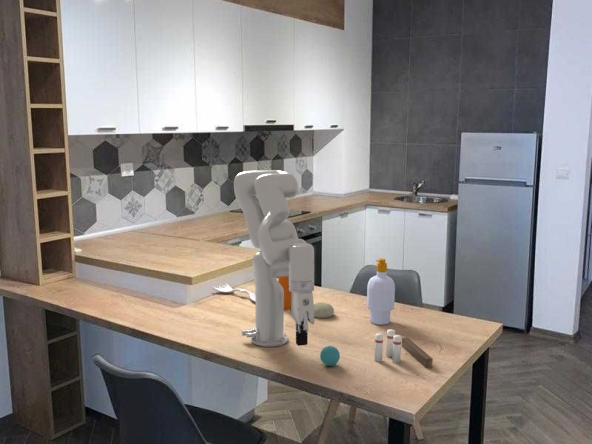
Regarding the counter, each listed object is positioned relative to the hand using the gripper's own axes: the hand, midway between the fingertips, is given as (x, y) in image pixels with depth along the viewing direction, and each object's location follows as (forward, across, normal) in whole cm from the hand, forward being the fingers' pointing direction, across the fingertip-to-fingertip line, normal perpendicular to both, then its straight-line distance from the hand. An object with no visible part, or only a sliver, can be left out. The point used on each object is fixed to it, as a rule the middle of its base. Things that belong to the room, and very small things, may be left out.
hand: (301, 344), depth 178 cm
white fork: (+6, +76, +5) cm, 76 cm away
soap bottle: (+7, +34, -39) cm, 53 cm away
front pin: (+8, +1, -25) cm, 27 cm away
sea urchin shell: (+7, +46, -20) cm, 51 cm away
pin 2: (+8, -1, -30) cm, 31 cm away
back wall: (+8, +1, -38) cm, 39 cm away
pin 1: (+8, +4, -30) cm, 32 cm away
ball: (+5, +1, -9) cm, 11 cm away
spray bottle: (+6, +57, -7) cm, 58 cm away
